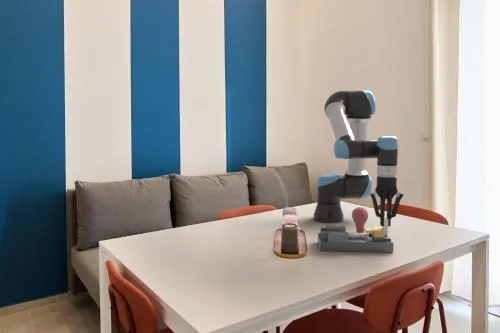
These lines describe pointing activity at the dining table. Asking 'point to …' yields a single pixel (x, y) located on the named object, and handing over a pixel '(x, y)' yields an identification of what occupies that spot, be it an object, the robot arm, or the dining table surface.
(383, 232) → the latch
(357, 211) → the light bulb
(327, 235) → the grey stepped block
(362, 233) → the light grey flat bar
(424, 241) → the dining table surface
